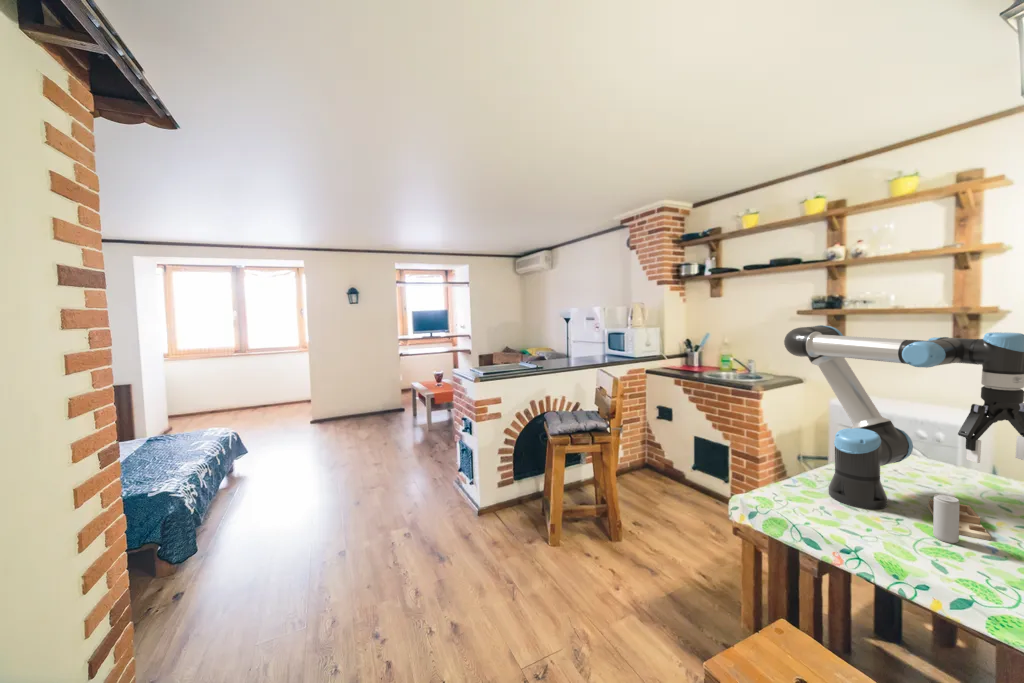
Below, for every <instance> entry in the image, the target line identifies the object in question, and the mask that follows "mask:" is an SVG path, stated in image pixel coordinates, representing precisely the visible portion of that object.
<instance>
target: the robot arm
mask: <svg viewBox="0 0 1024 683" xmlns="http://www.w3.org/2000/svg"><path fill="white" fill-rule="evenodd" d="M783 344H784V347H785V349H786V351H787V352H788V353H789V354H791V355H793V356H794V357H795V356H796V357H801V358H803V357H804V358H805V357H807V358H808V360H809V361H810V363H811V364H812V365H814V366H817V367H818V368H819V369H820V371H821V373H822V374H823V376H824V378H825V379H826V381H827V383H828V385H829V386H830V387H831V389H832V392H833V393H834V395H835V396H836V398H837V399H838V401H839V403H840V405H841V406H842V408H843V409H844V411H845V413H846V414H847V417H848V418H849V420H850V422H852V427H851V428H850V427H848V428H842V429H840V430H838V431H837V432H836V433H835V435H834V436H835V437H834V441H833V444H834V474H833V476H832V479H831V481H830V483H829V485H828V495H829V496H830V497H831V498H832V499H834V500H836V501H838V502H840V503H842V504H845V505H848V506H851V507H852V506H853V507H856V508H861V509H862V508H863V509H871V510H880V509H884V508H886V507H888V497H887V494H886V492H885V489H884V486H883V484H882V483H881V482H882V481H881V467H882V466H886V465H890V464H895V463H900V462H902V461H904V460H905V459H908V458H909V457H910V456H911V454H912V452H913V449H914V445H913V441H912V438H911V437H910V436H909V434H908V433H907V432H906V431H904V430H902V429H900V428H898V427H895V425H894V423H893V422H892V421H891V419H889V418H886V417H884V416H882V415H881V413H880V411H879V410H878V408H877V407H876V405H875V403H873V400H872V398H871V397H870V395H869V394H868V392H867V391H866V390H865V388H864V386H863V385H862V383H861V381H860V380H859V378H858V377H857V376H856V374H855V371H853V369H852V367H851V366H850V364H849V363H848V362H847V360H846V359H855V360H856V359H857V360H864V361H875V362H885V363H886V362H887V363H896V364H904V365H909V366H912V367H915V368H926V369H927V368H933V367H937V366H943V365H950V364H966V365H981V366H982V369H981V385H982V387H981V388H980V398H981V400H983V401H984V403H983V405H982V404H981V405H980V404H976V403H972V404H971V406H970V410H969V413H968V415H967V417H966V419H965V420H964V422H963V424H962V426H961V427H960V429H959V430H958V432H957V435H958V436H960V437H962V438H965V449H966V461H967V460H968V461H971V462H973V463H977V464H981V455H982V454H981V452H982V450H981V449H982V440H981V439H980V438H981V437H982V435H984V433H986V431H988V429H989V428H990V427H991V426H992V425H993V424H995V423H998V422H1000V421H1001V422H1002V421H1008V422H1009V423H1010V425H1011V426H1012V427H1013V428H1014V429H1015V430H1016V431H1017V433H1018V434H1019V435H1017V436H1016V445H1015V446H1016V447H1015V459H1018V460H1020V461H1021V460H1022V461H1024V390H1023V388H1024V333H1021V332H1002V331H1001V332H994V331H993V332H987V333H985V334H984V335H983V337H982V338H963V337H962V338H961V337H948V336H943V337H941V336H940V337H937V336H936V337H931V338H929V339H928V340H919V339H905V338H904V339H901V338H886V337H885V338H884V337H883V338H881V337H868V336H867V337H866V336H852V335H850V336H849V335H843V333H842V332H841V331H840V330H839V329H838V328H836V327H834V326H830V325H820V324H819V325H814V326H800V327H796V328H793V329H791V330H790V331H788V333H787V334H786V335H785V338H784V340H783Z"/></svg>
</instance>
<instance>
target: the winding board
mask: <svg viewBox="0 0 1024 683" xmlns="http://www.w3.org/2000/svg"><path fill="white" fill-rule="evenodd" d="M928 502H929V503H927V509H928V511H929V512H930V513H931V515H932V516H933V513H934V499H931V498H929V500H928ZM960 535H961V536H966V537H971V538H976V539H981V540H987V541H991V539H992V538H991V534H989V533H988V531H987V530H986V528H985V527H983V525H982V524H981V517H980V516H979V515H978V514H977V512H975V510H974V509H973V507H971V506H970V505H969V504H967V505H966V504H963V503H962V504H961V503H959V536H960Z"/></svg>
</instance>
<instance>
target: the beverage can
mask: <svg viewBox="0 0 1024 683" xmlns="http://www.w3.org/2000/svg"><path fill="white" fill-rule="evenodd" d="M933 500H934V513H933V515H932V518H933V523H932V526H933V528H932V534H933V536H934V537H935V539H938V540H939V541H942V542H944V543H949V544H956V543H958V542H959V541H960V534H959V504H960V500H959V498H956V497H954V496H952V495H948V494H940V493H937V494H934V496H933Z"/></svg>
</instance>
